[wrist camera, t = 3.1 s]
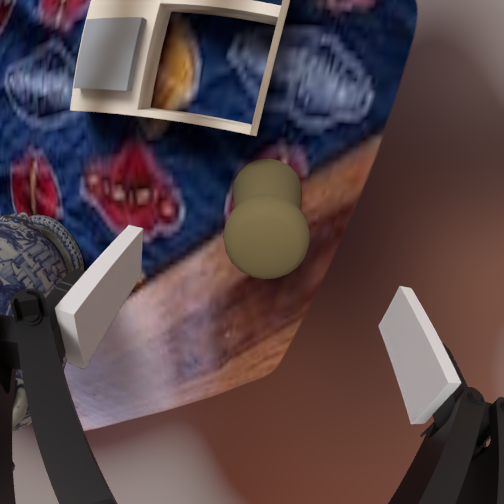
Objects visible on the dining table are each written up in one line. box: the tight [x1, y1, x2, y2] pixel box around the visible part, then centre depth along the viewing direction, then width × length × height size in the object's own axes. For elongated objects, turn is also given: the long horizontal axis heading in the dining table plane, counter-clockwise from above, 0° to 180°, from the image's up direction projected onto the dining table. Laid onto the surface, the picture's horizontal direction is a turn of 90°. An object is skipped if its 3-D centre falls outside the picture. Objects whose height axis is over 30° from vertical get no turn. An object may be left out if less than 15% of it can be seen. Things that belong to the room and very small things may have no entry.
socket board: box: [70, 0, 290, 136], centre depth 18 cm, size 16×20×4 cm
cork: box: [223, 159, 310, 279], centre depth 23 cm, size 6×6×11 cm
